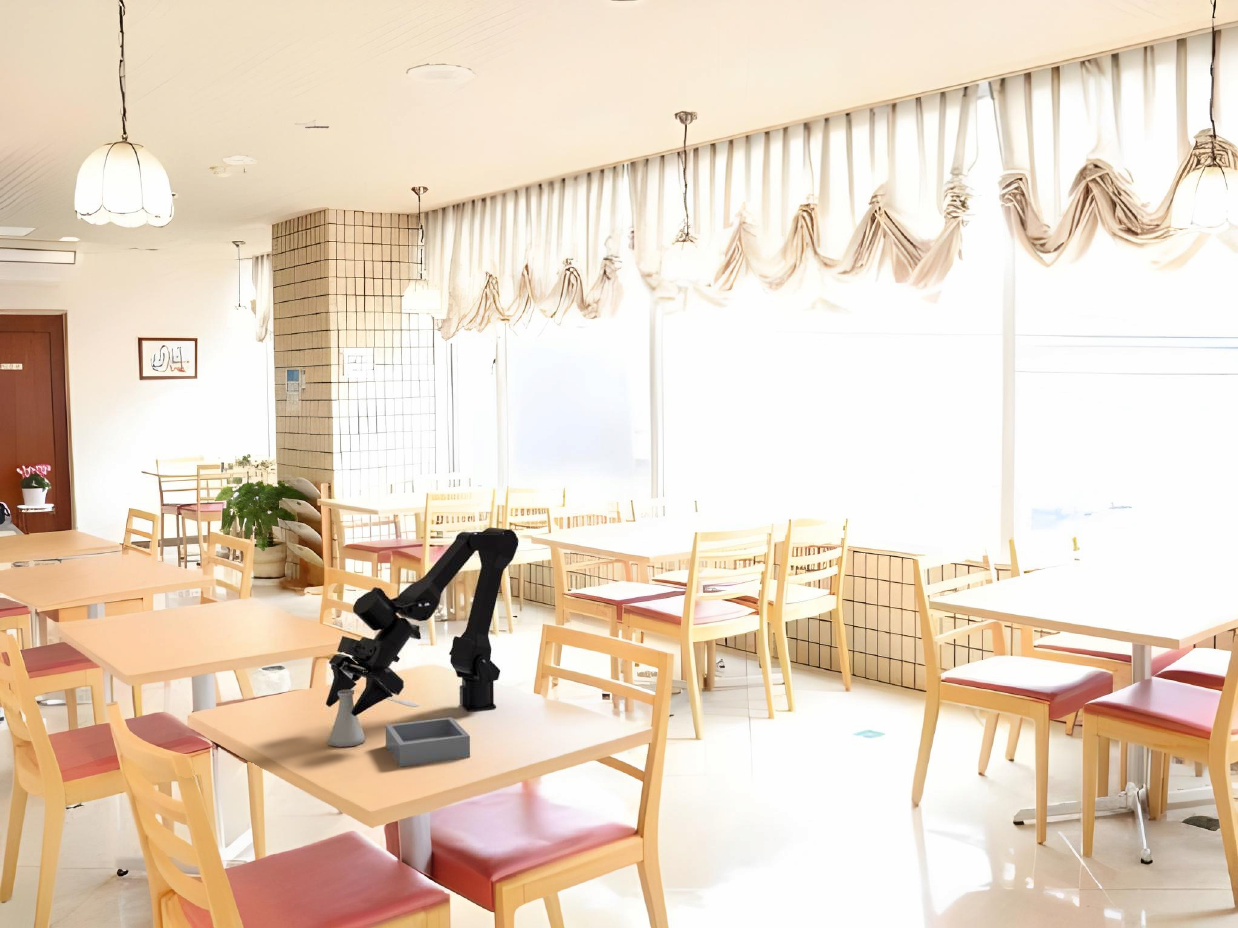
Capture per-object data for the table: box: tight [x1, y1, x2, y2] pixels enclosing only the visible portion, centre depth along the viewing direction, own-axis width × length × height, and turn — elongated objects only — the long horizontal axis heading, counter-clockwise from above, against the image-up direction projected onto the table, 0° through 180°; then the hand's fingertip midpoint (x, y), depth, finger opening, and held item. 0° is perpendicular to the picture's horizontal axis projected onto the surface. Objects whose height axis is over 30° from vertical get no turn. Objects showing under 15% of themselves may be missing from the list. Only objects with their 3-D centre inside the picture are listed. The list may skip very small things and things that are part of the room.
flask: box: [327, 689, 366, 748], centre depth 204 cm, size 7×7×10 cm
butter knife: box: [385, 697, 420, 708], centre depth 237 cm, size 1×27×3 cm
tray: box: [385, 716, 471, 768], centre depth 198 cm, size 13×13×4 cm
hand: (340, 709), depth 203 cm, fingers open, 9 cm apart
